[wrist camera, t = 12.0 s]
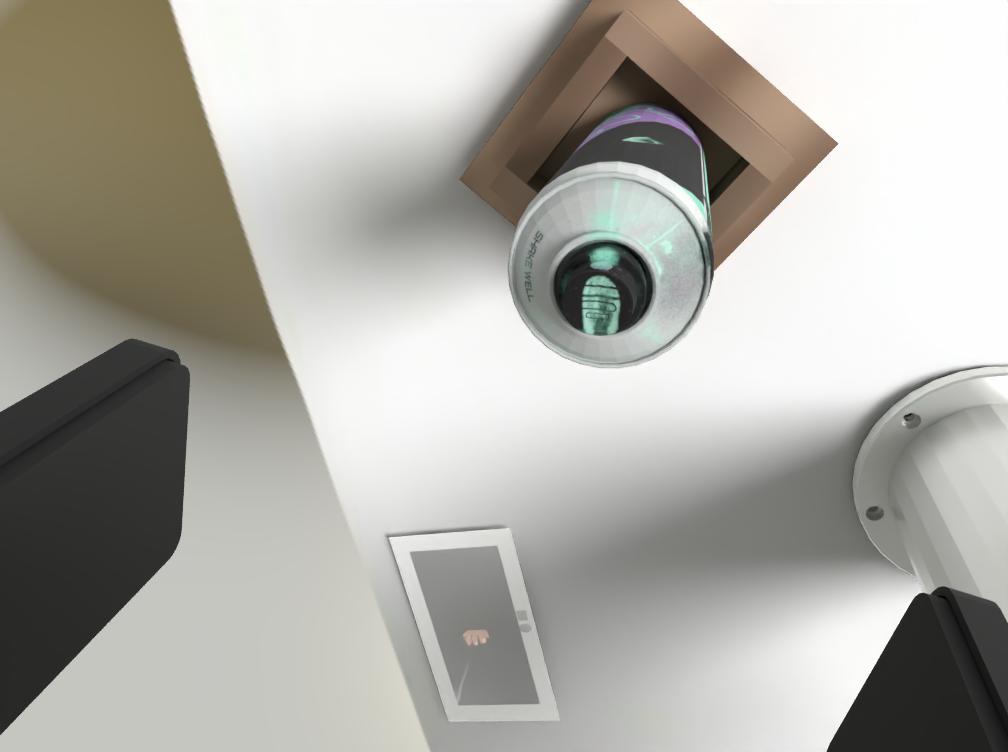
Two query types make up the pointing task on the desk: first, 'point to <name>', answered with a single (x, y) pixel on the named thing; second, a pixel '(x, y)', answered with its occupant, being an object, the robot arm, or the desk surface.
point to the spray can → (618, 242)
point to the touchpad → (476, 625)
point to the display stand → (659, 80)
